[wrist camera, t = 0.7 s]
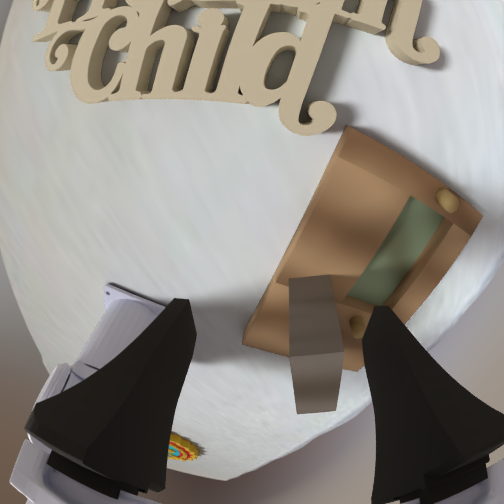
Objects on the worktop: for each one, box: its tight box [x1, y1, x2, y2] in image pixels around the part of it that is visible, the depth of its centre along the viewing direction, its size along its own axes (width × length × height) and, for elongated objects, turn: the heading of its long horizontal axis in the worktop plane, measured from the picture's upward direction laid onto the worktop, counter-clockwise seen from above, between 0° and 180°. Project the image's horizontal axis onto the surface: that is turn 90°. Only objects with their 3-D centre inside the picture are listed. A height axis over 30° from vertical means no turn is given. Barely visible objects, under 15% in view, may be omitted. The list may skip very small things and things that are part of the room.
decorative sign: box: [32, 0, 440, 136], centre depth 11 cm, size 31×2×15 cm
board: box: [242, 125, 483, 371], centre depth 20 cm, size 20×13×3 cm, turn 160°
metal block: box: [288, 274, 344, 414], centre depth 19 cm, size 8×3×7 cm, turn 10°
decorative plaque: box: [167, 433, 199, 461], centre depth 52 cm, size 30×3×30 cm
